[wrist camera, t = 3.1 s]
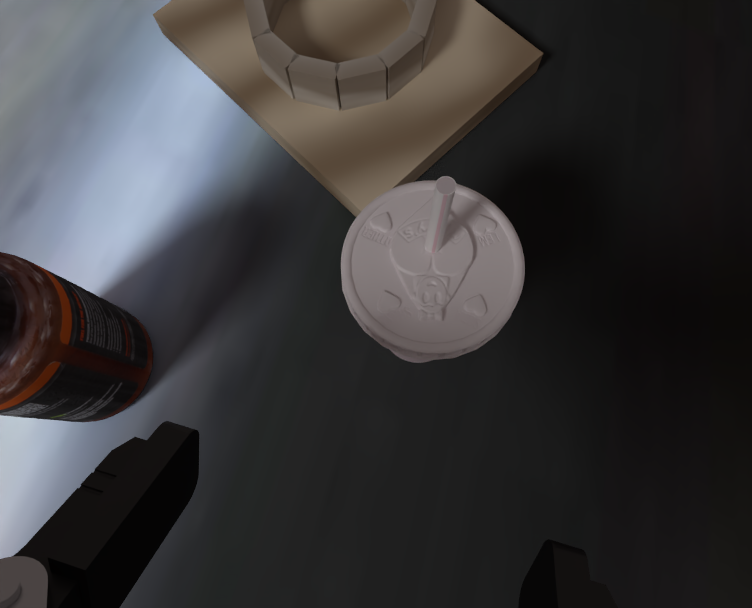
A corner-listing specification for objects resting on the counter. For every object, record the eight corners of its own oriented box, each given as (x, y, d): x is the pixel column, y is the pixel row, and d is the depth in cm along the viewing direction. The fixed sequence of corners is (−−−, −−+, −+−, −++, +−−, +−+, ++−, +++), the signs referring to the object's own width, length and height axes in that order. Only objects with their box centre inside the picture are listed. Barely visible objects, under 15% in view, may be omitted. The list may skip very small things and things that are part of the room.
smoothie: (479, 270, 28) (563, 102, 15) (480, 392, 26) (577, 328, 13) (358, 266, 28) (331, 97, 15) (352, 387, 27) (315, 319, 13)
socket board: (163, 33, 33) (133, -23, 29) (329, -91, 35) (322, -158, 31) (365, 225, 29) (361, 190, 25) (536, 71, 31) (556, 18, 28)
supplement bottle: (106, 286, 28) (-70, 182, 18) (182, 358, 27) (44, 295, 16) (18, 370, 27) (-229, 314, 16) (93, 449, 26) (-119, 446, 15)
